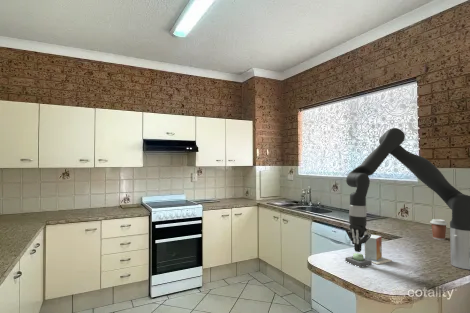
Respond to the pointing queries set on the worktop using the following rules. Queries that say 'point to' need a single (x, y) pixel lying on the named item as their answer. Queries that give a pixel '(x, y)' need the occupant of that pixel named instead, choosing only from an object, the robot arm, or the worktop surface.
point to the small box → (373, 247)
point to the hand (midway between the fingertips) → (357, 251)
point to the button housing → (359, 263)
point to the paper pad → (380, 260)
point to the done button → (358, 257)
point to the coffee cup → (438, 228)
